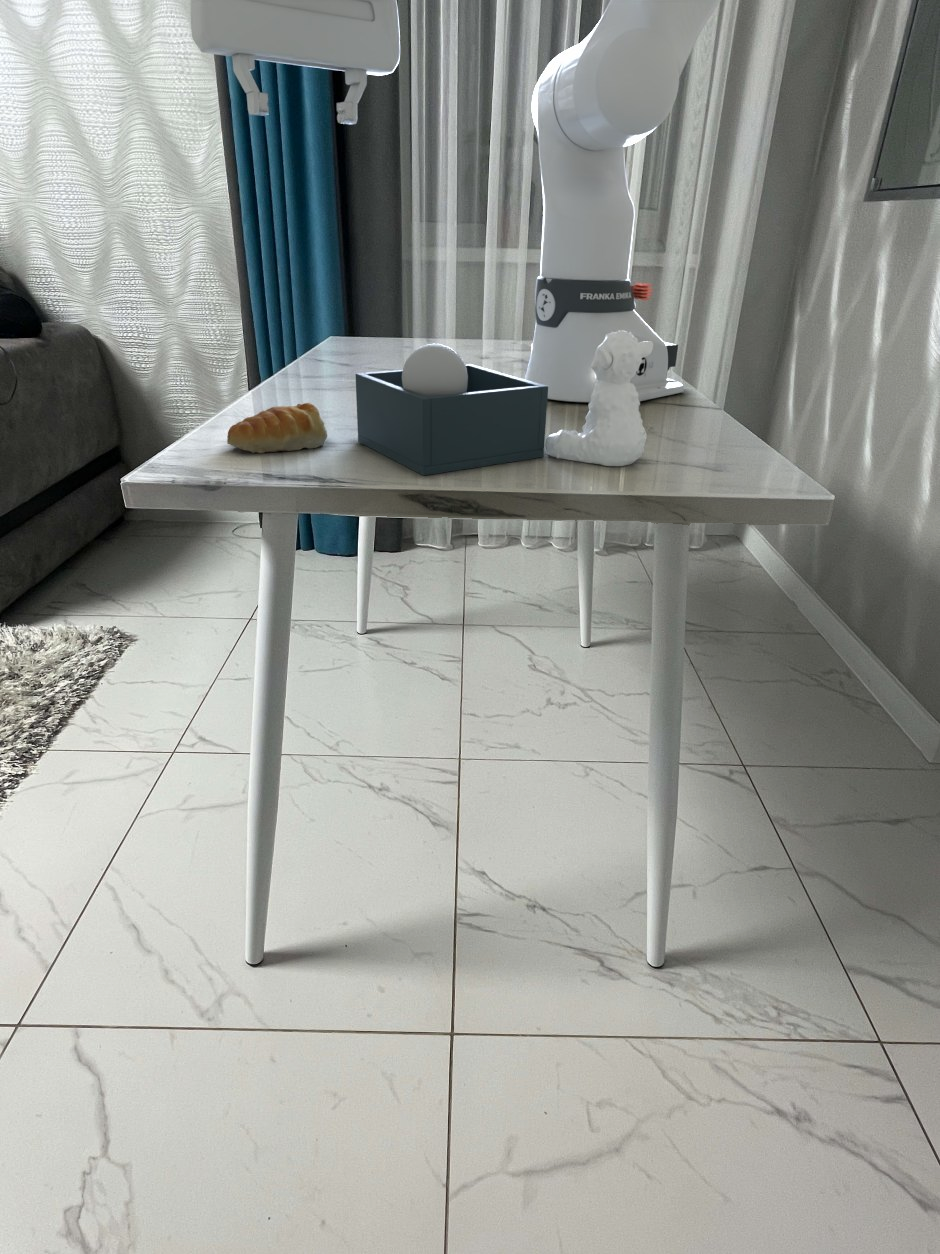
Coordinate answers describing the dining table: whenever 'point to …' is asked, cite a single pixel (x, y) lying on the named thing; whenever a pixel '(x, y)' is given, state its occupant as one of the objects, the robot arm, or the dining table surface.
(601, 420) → the sitting furry creature
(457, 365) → the lightbulb
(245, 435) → the pastry
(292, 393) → the dining table surface
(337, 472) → the dining table surface
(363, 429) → the bin
